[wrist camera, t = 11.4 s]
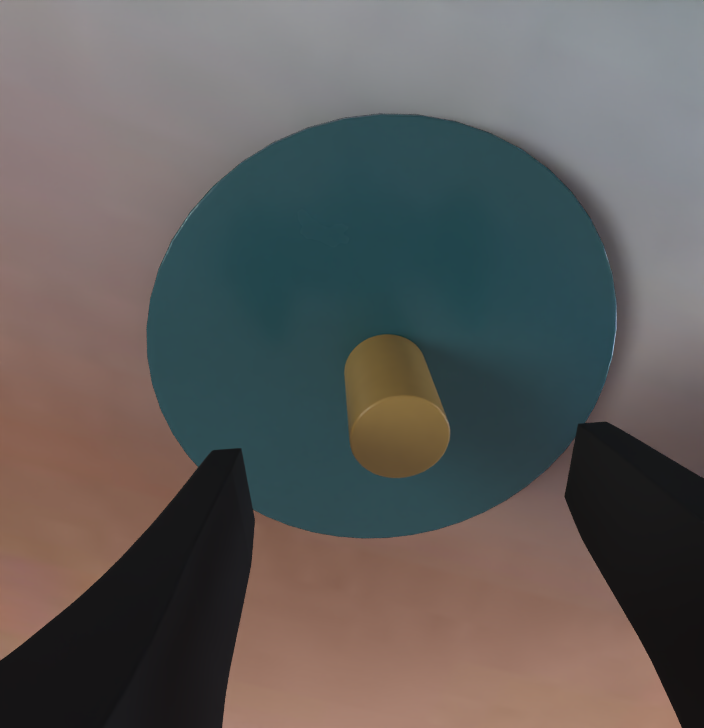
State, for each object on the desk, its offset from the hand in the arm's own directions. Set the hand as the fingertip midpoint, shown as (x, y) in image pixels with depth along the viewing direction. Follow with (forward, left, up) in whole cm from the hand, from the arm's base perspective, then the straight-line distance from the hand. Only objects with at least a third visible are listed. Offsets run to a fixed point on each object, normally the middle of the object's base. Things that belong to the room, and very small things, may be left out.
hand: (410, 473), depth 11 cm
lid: (0, 0, -5) cm, 5 cm away
